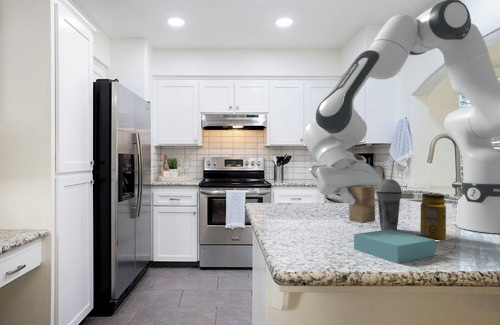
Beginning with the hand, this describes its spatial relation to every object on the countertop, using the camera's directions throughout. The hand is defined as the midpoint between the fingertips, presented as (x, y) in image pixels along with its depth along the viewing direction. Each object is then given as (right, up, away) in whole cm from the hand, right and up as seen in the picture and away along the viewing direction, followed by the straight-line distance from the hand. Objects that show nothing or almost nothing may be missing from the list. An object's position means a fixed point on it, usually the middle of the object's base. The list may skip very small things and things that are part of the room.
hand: (363, 202), depth 82 cm
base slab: (+3, -10, -10) cm, 14 cm away
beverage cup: (+13, -10, +14) cm, 21 cm away
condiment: (+20, -10, +4) cm, 23 cm away
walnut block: (0, -5, +1) cm, 5 cm away
